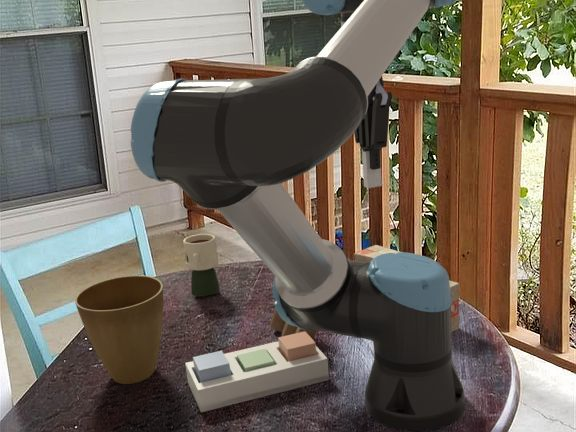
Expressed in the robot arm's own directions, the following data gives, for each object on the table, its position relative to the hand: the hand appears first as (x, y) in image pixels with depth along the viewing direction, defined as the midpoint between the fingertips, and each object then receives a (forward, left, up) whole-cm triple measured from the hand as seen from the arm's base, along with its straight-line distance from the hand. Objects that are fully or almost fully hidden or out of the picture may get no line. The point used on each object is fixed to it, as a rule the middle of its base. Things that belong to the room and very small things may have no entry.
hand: (372, 186), depth 127 cm
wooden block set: (+10, +13, -30) cm, 34 cm away
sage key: (-4, +25, -28) cm, 38 cm away
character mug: (+39, +24, -30) cm, 55 cm away
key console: (-4, +25, -29) cm, 39 cm away
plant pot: (+9, +44, -30) cm, 54 cm away
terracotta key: (-4, +17, -27) cm, 32 cm away
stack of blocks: (+6, -9, -30) cm, 32 cm away
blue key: (-4, +33, -27) cm, 42 cm away
